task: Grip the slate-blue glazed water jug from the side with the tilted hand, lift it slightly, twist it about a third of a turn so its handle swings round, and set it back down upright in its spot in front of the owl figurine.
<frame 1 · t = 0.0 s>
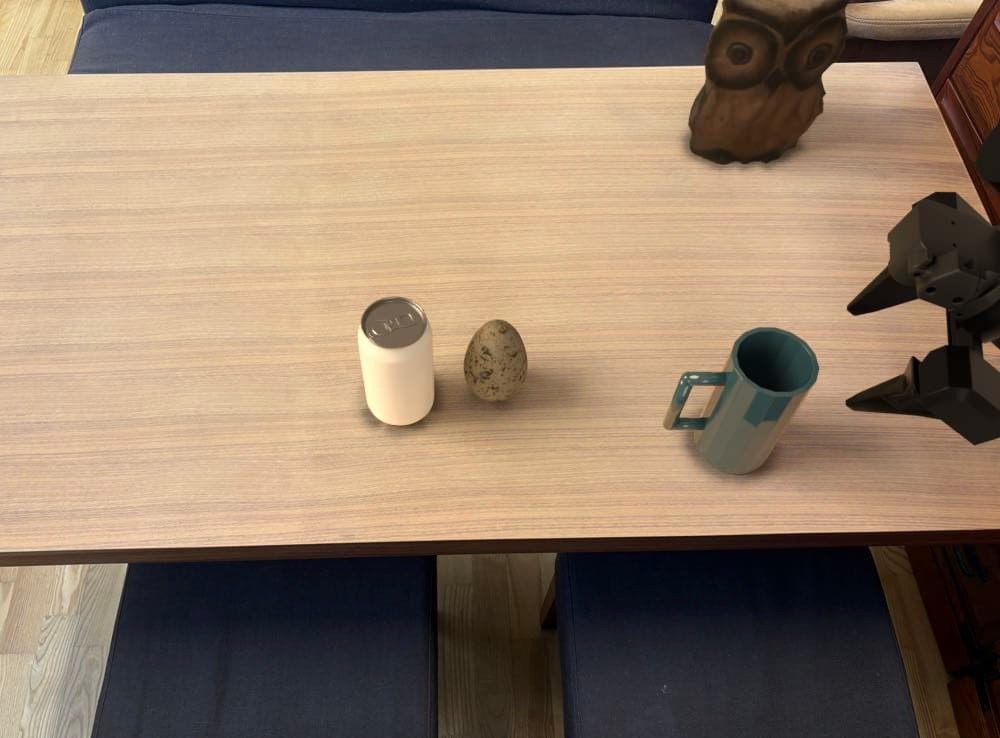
hand: (849, 356, 65), 16 cm above the table, tool tilted 35°, fingers open, 9 cm apart
owl: (739, 134, 103), on the table
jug: (730, 441, 79), on the table
decorative egg: (493, 390, 83), on the table
can: (401, 400, 82), on the table
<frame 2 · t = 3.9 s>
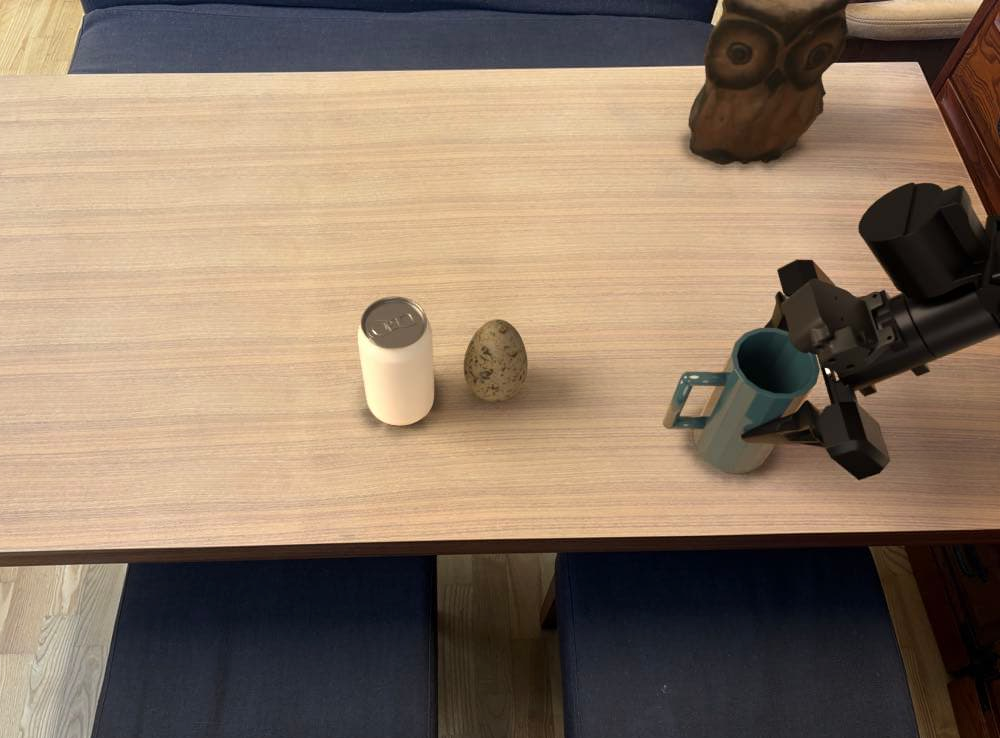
hand: (735, 403, 74), 7 cm above the table, tool tilted 45°, fingers closed on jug, 7 cm apart
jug: (730, 440, 79), on the table, touching gripper
everything else where it was.
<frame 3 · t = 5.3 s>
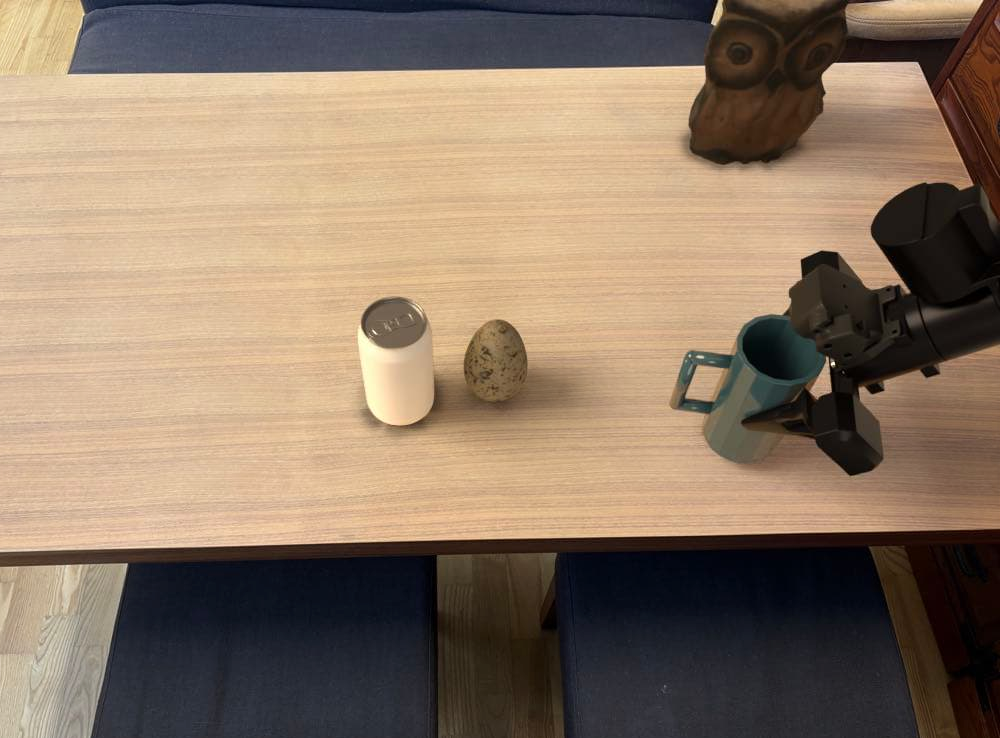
hand: (742, 389, 73), 8 cm above the table, tool tilted 45°, fingers closed on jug, 7 cm apart
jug: (740, 431, 78), point 1 cm above the table, touching gripper
everything else where it was.
when the fingers open (7 cm above the table, at t = 7.2 s): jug stays where it is, on the table.
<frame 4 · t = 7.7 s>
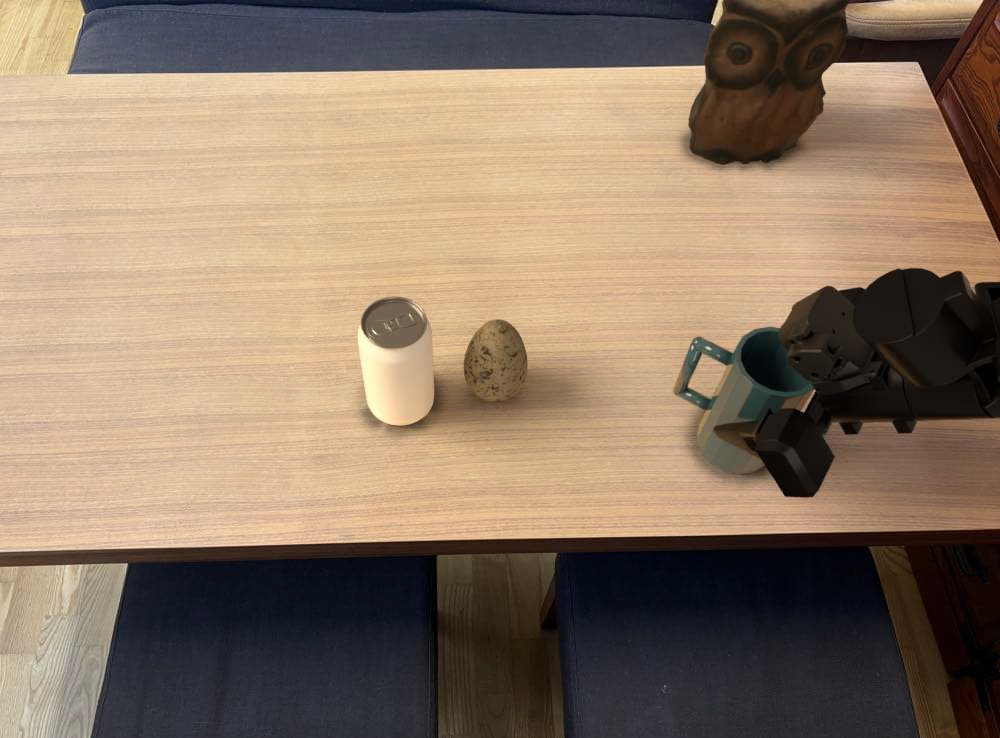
hand: (737, 394, 74), 7 cm above the table, tool tilted 45°, fingers open, 9 cm apart
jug: (733, 441, 79), on the table
everything else where it was.
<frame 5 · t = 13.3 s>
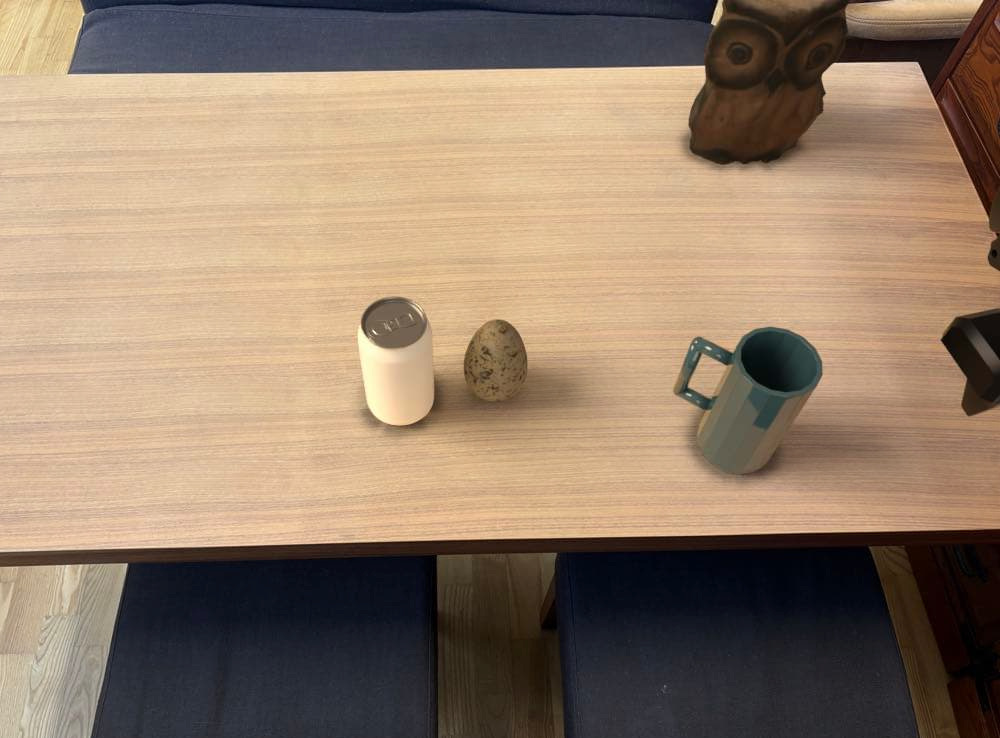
nothing on the table moved.
at the end: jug tilted 0°; the gripper is holding nothing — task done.
